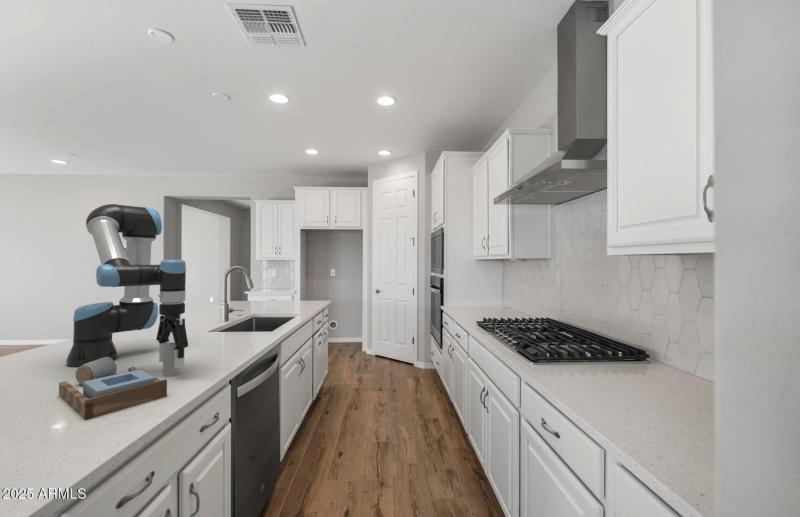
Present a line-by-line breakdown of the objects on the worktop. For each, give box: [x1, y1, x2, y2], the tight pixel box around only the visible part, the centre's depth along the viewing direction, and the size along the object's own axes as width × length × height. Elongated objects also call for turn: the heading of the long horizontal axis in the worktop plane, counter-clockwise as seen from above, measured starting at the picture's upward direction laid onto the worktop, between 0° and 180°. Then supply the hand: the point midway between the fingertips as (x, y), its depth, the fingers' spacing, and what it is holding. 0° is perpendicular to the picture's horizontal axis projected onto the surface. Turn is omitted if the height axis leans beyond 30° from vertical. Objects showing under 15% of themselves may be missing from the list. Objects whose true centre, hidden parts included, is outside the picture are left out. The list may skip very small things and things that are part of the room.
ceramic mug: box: [75, 357, 118, 386], centre depth 111 cm, size 11×8×8 cm
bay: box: [58, 366, 168, 421], centre depth 98 cm, size 26×18×6 cm
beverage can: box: [162, 341, 180, 378], centre depth 117 cm, size 5×5×12 cm
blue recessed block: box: [82, 369, 156, 399], centre depth 95 cm, size 12×13×6 cm
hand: (171, 364), depth 117 cm, fingers open, 12 cm apart
